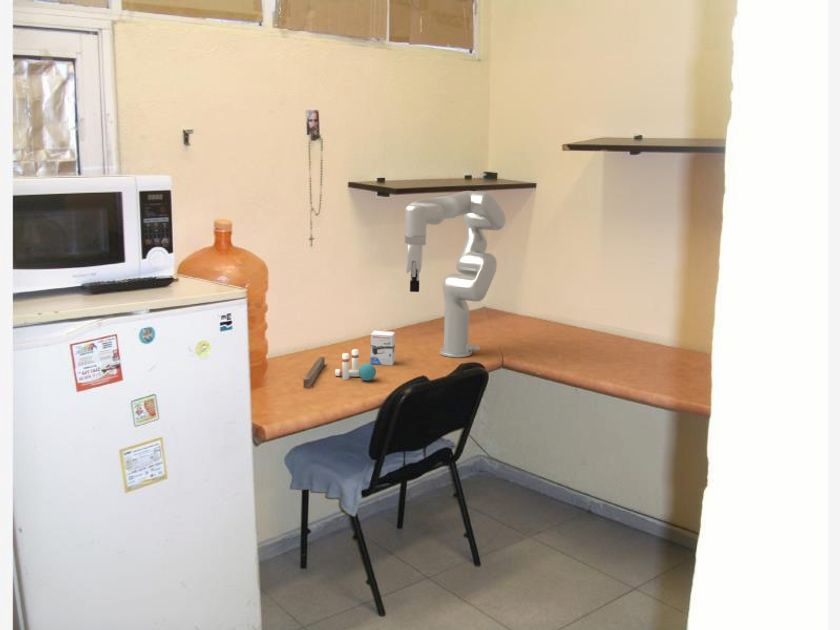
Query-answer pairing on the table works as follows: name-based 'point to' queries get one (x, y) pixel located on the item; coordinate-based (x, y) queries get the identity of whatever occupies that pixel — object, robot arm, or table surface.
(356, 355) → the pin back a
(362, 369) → the ball
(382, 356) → the ink box
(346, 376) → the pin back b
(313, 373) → the bar
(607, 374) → the table surface
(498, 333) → the table surface
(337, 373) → the pin front
